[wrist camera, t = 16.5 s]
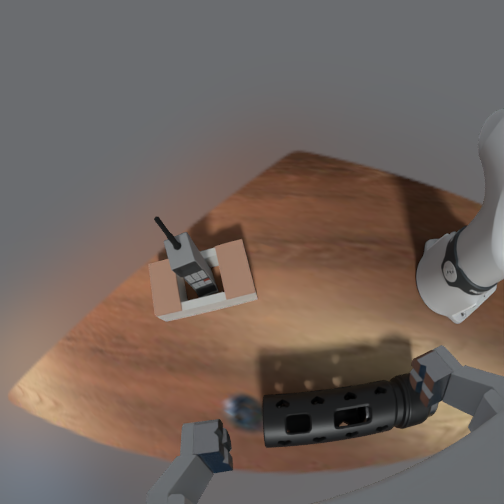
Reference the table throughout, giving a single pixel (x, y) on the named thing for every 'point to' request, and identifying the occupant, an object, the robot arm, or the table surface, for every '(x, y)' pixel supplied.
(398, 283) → the table surface
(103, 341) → the table surface
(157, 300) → the tan rectangular frame
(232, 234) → the table surface
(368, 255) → the table surface
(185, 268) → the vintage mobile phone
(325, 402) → the muzzle brake
